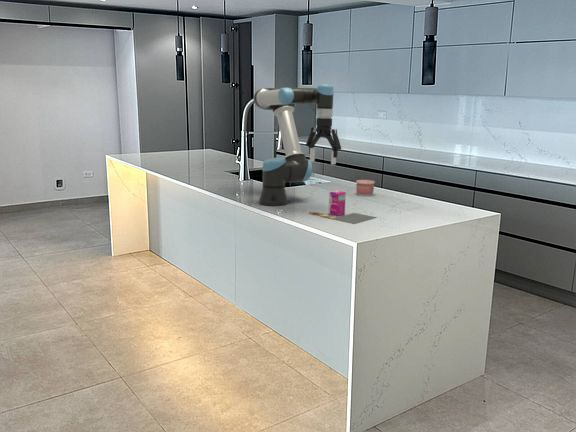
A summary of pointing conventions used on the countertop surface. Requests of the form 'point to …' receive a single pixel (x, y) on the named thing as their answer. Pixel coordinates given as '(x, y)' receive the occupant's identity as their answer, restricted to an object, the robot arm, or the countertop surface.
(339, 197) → the supplement box
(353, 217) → the mat
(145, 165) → the countertop surface
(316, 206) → the countertop surface
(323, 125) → the robot arm
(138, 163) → the countertop surface
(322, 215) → the turner
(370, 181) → the container
